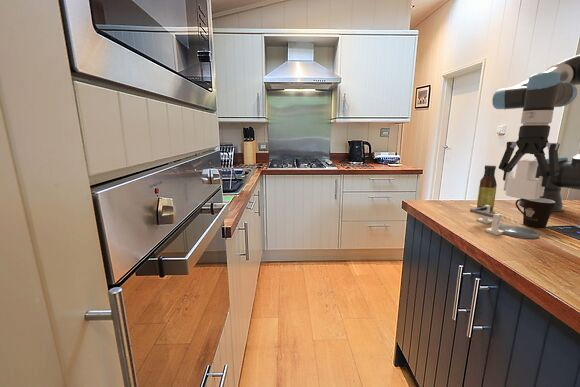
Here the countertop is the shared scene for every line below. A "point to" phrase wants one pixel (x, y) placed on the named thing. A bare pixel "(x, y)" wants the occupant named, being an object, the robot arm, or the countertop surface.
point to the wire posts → (495, 222)
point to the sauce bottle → (487, 188)
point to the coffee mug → (536, 212)
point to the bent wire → (479, 211)
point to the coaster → (518, 232)
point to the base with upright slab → (523, 181)
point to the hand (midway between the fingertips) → (522, 193)
